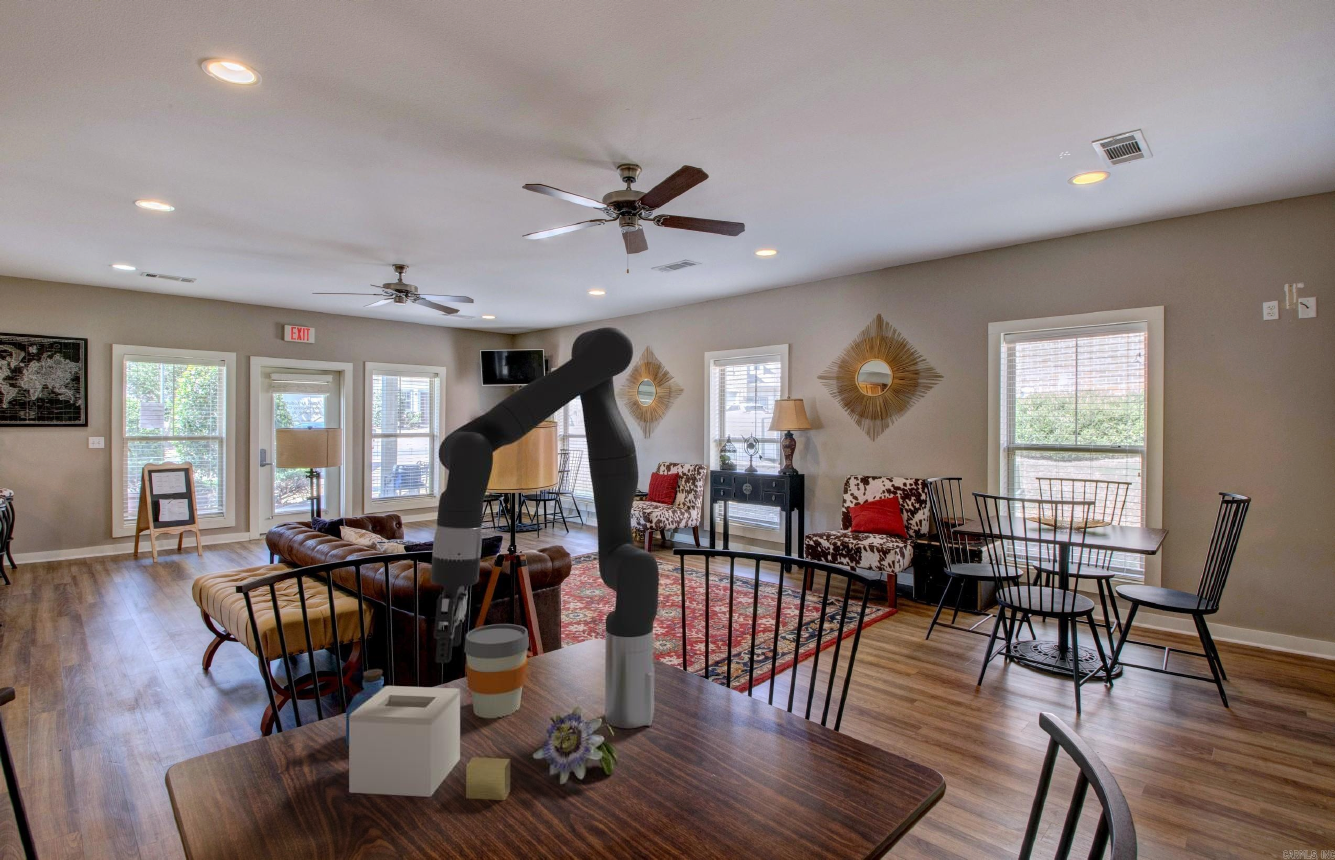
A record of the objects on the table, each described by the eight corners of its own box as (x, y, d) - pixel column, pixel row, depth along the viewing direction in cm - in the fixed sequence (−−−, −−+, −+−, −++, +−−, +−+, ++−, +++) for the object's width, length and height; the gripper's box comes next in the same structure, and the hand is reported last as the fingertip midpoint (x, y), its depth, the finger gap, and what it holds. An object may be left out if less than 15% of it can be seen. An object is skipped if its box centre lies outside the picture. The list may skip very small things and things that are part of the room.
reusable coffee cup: (501, 689, 136) (501, 619, 136) (542, 704, 129) (542, 631, 129) (450, 710, 126) (451, 635, 126) (492, 728, 119) (492, 648, 119)
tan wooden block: (510, 790, 99) (510, 758, 99) (504, 800, 96) (504, 767, 96) (472, 788, 99) (472, 757, 99) (466, 798, 97) (466, 765, 97)
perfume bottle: (377, 748, 111) (377, 680, 111) (346, 745, 113) (346, 677, 113) (398, 732, 117) (398, 667, 117) (369, 728, 119) (369, 664, 119)
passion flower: (564, 816, 101) (519, 759, 100) (580, 767, 112) (540, 715, 111) (620, 784, 99) (575, 725, 98) (631, 737, 110) (590, 684, 109)
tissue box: (459, 758, 108) (460, 688, 108) (430, 796, 97) (430, 718, 97) (386, 755, 109) (386, 685, 109) (349, 792, 98) (349, 714, 98)
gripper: (473, 562, 97) (464, 669, 97) (486, 547, 112) (478, 641, 111) (422, 559, 96) (413, 668, 96) (442, 545, 110) (433, 639, 110)
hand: (448, 653), depth 103 cm, fingers open, 8 cm apart
